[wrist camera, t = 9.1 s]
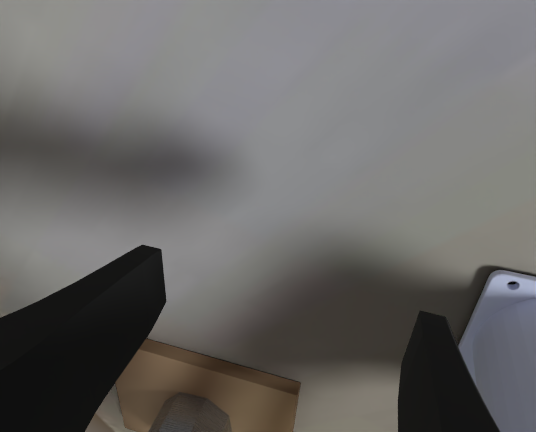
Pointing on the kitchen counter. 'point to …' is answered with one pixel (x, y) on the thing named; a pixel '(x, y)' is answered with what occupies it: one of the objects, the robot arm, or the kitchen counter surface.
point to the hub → (190, 415)
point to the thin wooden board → (204, 389)
